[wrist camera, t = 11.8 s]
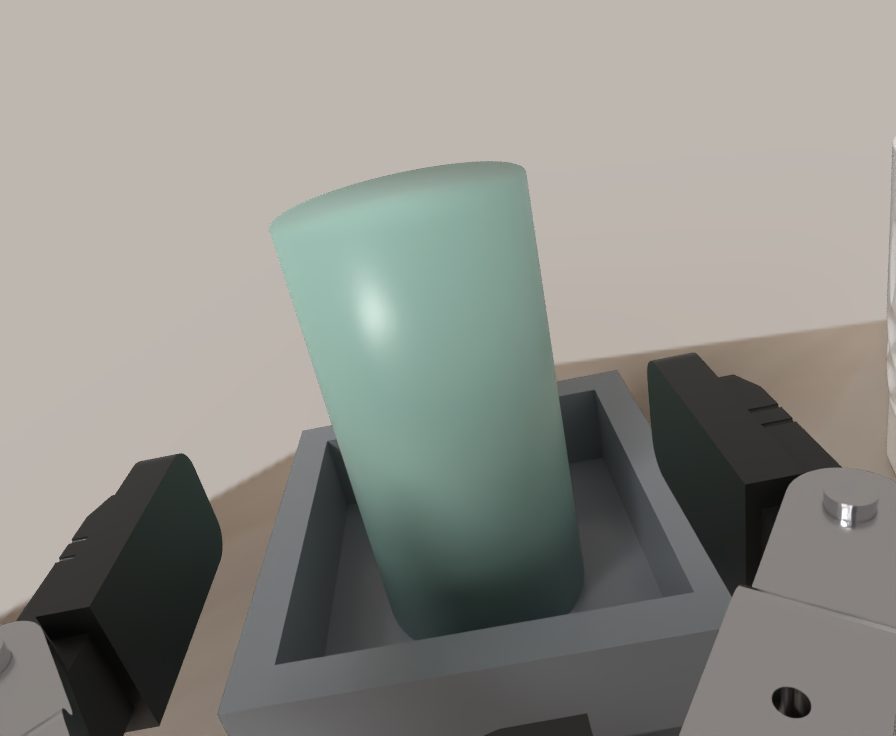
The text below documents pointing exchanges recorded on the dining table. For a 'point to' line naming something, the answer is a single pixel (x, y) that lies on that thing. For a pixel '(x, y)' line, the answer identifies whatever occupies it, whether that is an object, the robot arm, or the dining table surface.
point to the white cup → (892, 320)
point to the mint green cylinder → (441, 389)
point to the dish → (492, 649)
